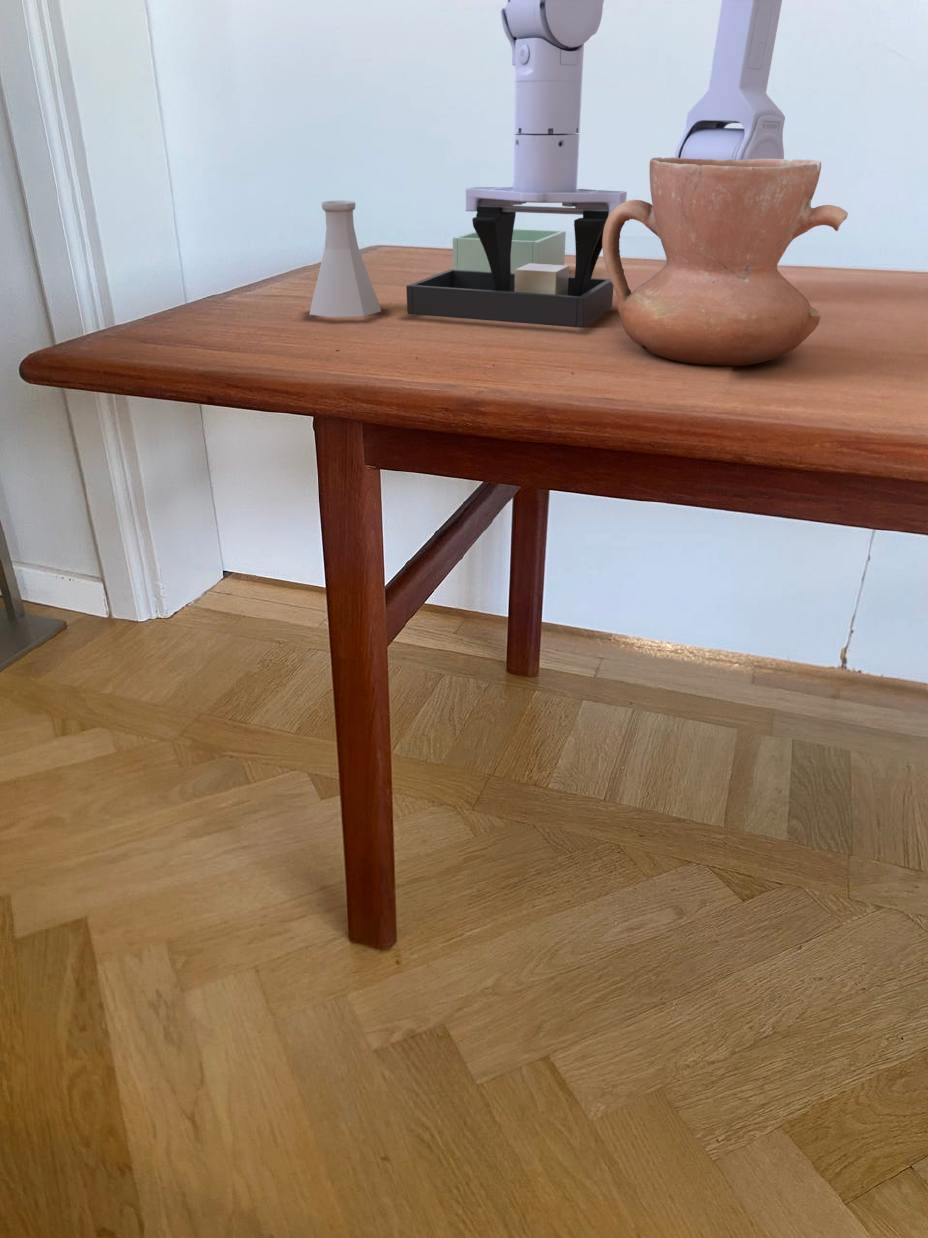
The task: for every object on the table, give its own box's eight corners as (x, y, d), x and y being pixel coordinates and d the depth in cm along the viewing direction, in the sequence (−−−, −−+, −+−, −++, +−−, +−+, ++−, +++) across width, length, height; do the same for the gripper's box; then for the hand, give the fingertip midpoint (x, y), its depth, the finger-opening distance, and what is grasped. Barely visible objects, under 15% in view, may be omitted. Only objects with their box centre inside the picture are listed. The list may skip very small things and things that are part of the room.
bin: (564, 271, 111) (565, 230, 109) (536, 285, 103) (538, 241, 101) (485, 266, 115) (485, 227, 113) (452, 279, 107) (452, 237, 104)
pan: (611, 311, 90) (614, 279, 89) (582, 332, 82) (584, 297, 81) (449, 299, 96) (449, 269, 95) (407, 318, 88) (406, 285, 86)
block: (567, 309, 89) (569, 265, 87) (554, 317, 85) (556, 271, 84) (527, 306, 90) (528, 262, 88) (513, 314, 87) (514, 269, 85)
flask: (371, 323, 86) (364, 206, 81) (297, 320, 87) (286, 205, 82) (391, 308, 92) (387, 198, 87) (322, 306, 93) (314, 197, 88)
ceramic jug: (835, 347, 76) (870, 155, 70) (802, 390, 65) (840, 167, 58) (626, 327, 84) (640, 151, 77) (565, 362, 73) (574, 161, 66)
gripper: (451, 134, 80) (453, 299, 86) (616, 136, 75) (604, 310, 81) (482, 132, 85) (481, 286, 92) (637, 133, 80) (624, 296, 87)
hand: (540, 297), depth 87 cm, fingers open, 7 cm apart
